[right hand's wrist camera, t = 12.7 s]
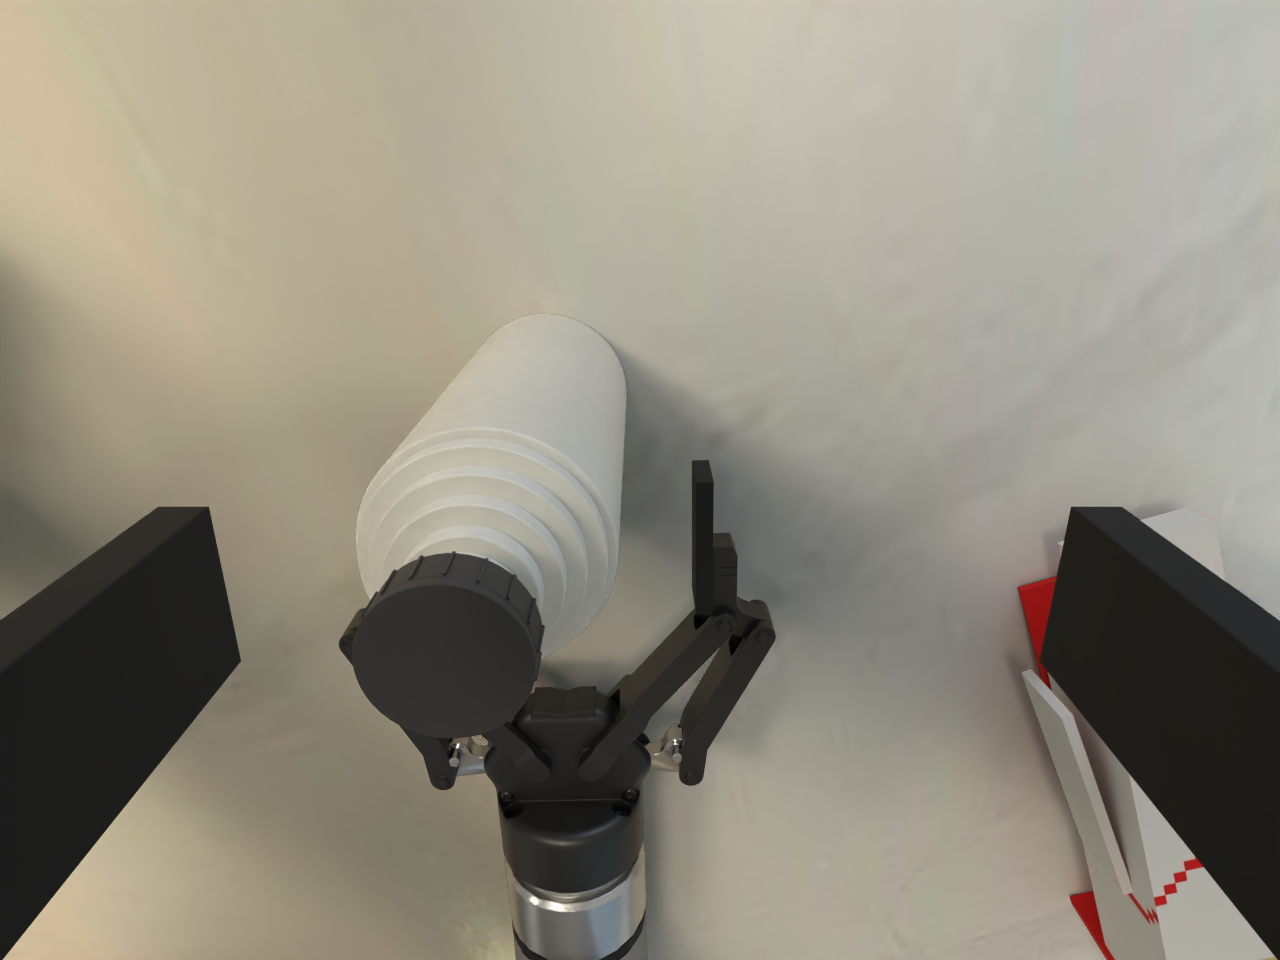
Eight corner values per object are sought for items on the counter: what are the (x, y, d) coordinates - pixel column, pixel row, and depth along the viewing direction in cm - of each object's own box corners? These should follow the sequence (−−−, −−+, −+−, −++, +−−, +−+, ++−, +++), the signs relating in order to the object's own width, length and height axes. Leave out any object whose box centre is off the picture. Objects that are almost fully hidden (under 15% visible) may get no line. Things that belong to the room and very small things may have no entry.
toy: (1356, 533, 33) (1425, 1096, 40) (1166, 460, 46) (1242, 893, 53) (1055, 612, 35) (1169, 1142, 41) (952, 520, 48) (1051, 934, 54)
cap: (537, 545, 20) (528, 577, 18) (552, 696, 21) (546, 737, 20) (357, 553, 20) (334, 586, 18) (386, 703, 21) (367, 744, 20)
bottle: (622, 309, 40) (602, 495, 18) (630, 462, 42) (621, 780, 21) (460, 317, 40) (246, 511, 18) (479, 468, 43) (315, 791, 21)
